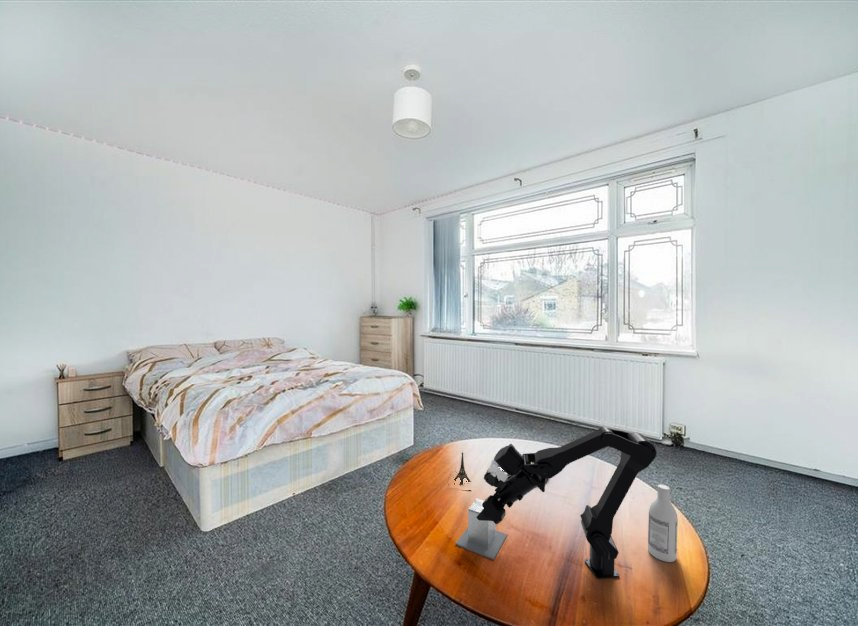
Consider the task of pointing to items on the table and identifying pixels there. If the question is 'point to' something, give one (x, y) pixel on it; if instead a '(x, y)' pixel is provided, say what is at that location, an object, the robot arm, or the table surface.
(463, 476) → the eiffel tower figurine
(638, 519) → the table surface
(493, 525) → the silver grey block
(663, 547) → the bath foam
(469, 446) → the table surface
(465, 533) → the rubber mat
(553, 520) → the table surface
